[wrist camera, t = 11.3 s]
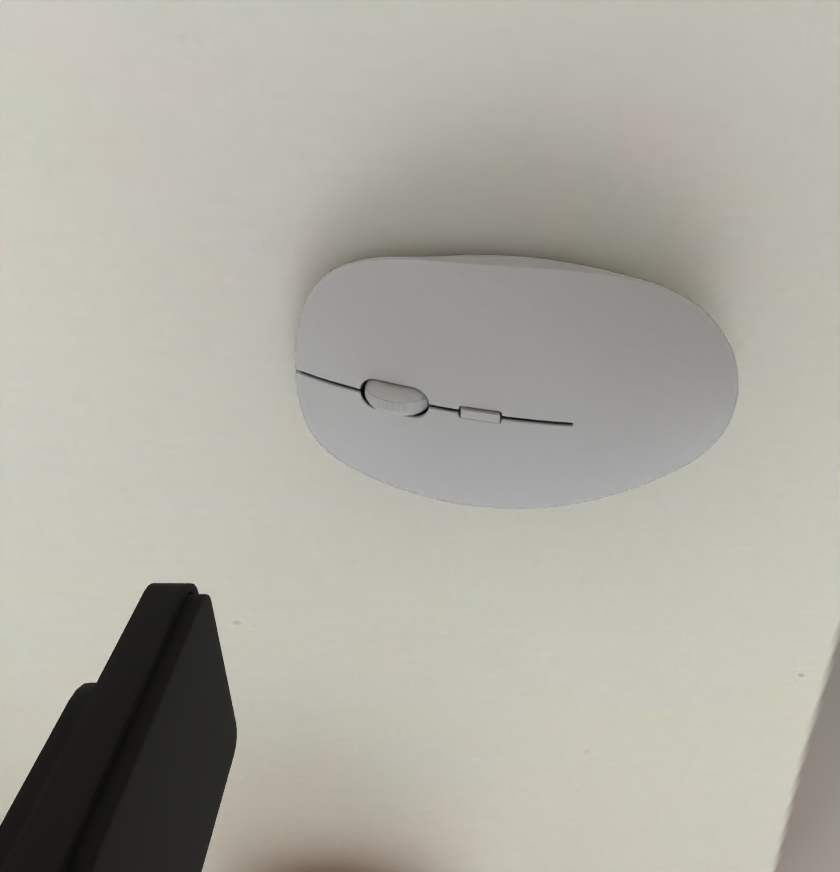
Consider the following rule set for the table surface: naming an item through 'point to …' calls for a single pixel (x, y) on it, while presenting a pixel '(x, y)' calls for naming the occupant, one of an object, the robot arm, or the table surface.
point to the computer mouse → (509, 378)
